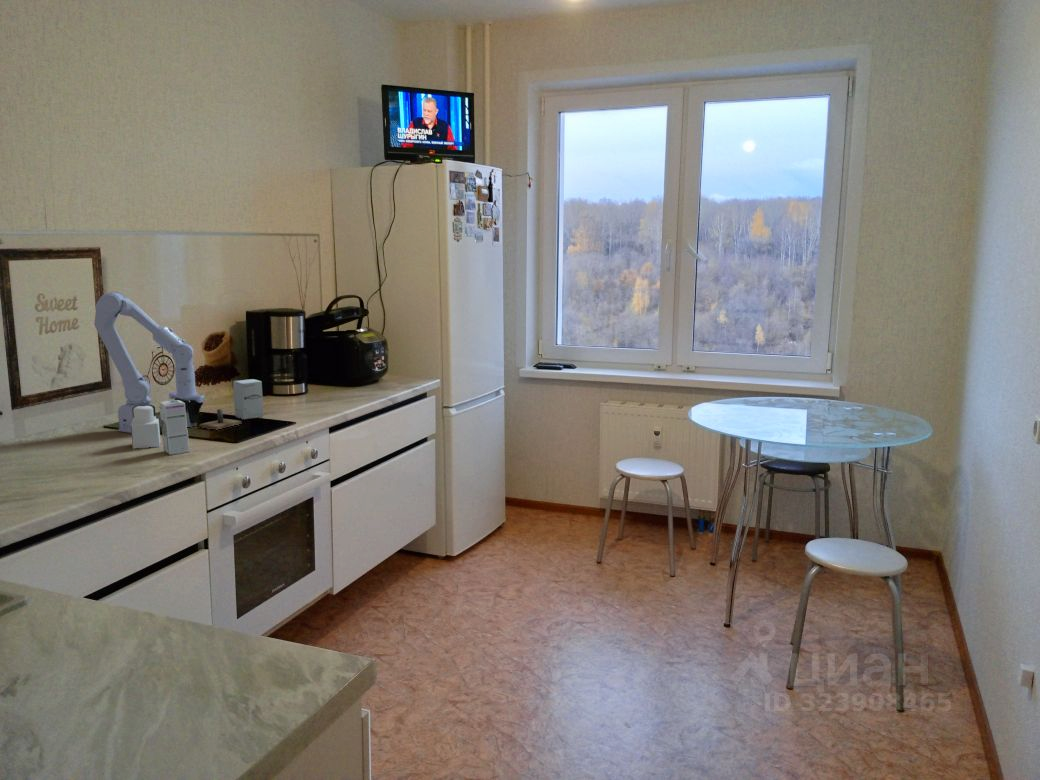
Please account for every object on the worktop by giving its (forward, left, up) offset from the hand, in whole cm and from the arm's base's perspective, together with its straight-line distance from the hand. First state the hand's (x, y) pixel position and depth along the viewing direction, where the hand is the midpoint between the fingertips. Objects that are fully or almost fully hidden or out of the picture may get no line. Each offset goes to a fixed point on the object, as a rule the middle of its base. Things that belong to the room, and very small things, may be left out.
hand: (188, 422), depth 253 cm
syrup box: (-24, -24, -2) cm, 34 cm away
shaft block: (+5, -9, -1) cm, 10 cm away
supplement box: (+20, -6, -2) cm, 21 cm away
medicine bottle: (-23, -10, -2) cm, 25 cm away
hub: (0, 0, -1) cm, 1 cm away
